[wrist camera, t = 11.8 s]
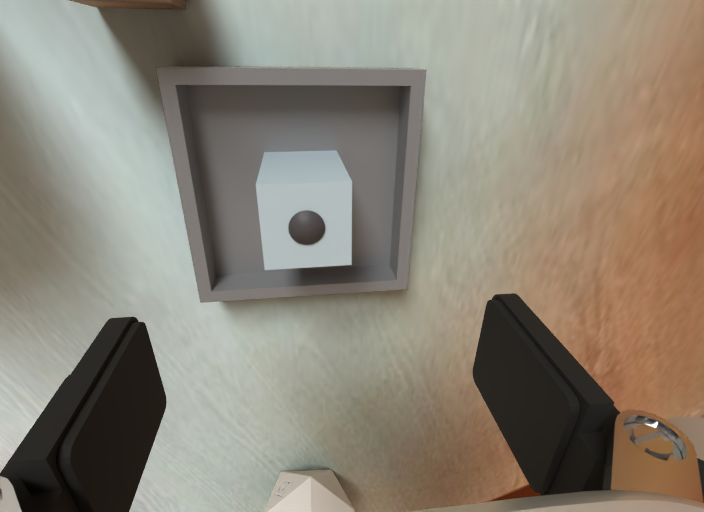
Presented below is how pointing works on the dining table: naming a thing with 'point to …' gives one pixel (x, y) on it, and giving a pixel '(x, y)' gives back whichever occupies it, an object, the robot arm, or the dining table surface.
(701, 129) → the dining table surface
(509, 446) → the robot arm
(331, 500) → the die
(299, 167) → the grey rectangular block
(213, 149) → the tray
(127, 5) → the walnut block
